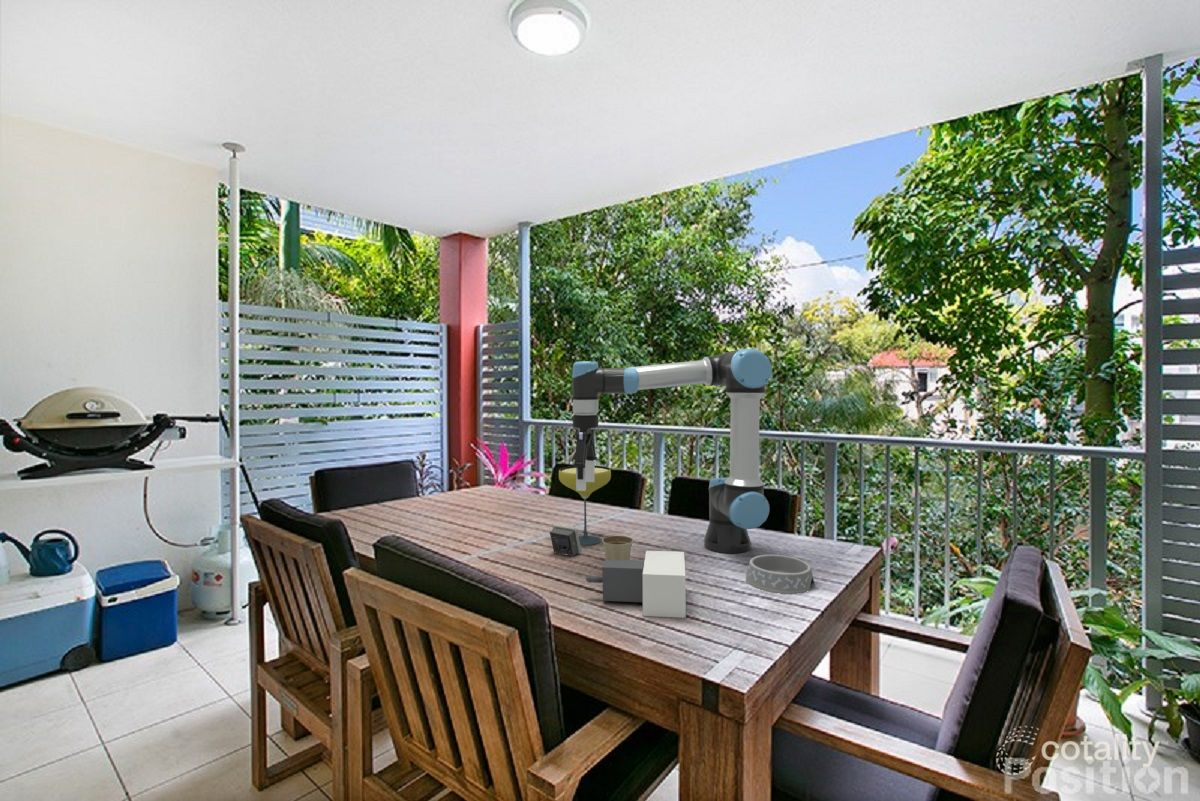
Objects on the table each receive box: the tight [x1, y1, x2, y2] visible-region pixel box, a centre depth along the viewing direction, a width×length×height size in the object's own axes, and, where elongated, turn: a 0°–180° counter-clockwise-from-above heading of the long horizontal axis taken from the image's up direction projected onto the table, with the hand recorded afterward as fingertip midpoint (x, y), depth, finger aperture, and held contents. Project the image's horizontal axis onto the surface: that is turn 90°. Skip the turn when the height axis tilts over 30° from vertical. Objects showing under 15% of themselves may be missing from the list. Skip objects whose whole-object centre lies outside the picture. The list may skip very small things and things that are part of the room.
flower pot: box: [601, 535, 635, 560], centre depth 163 cm, size 9×9×9 cm
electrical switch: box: [549, 524, 582, 557], centre depth 177 cm, size 9×5×9 cm, turn 57°
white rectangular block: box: [642, 550, 687, 619], centre depth 139 cm, size 10×18×10 cm, turn 173°
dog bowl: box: [745, 554, 815, 595], centre depth 152 cm, size 17×18×5 cm
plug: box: [585, 559, 645, 603], centre depth 140 cm, size 20×6×8 cm, turn 83°
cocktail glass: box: [558, 465, 612, 546], centre depth 191 cm, size 18×18×25 cm
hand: (585, 486), depth 163 cm, fingers open, 13 cm apart
